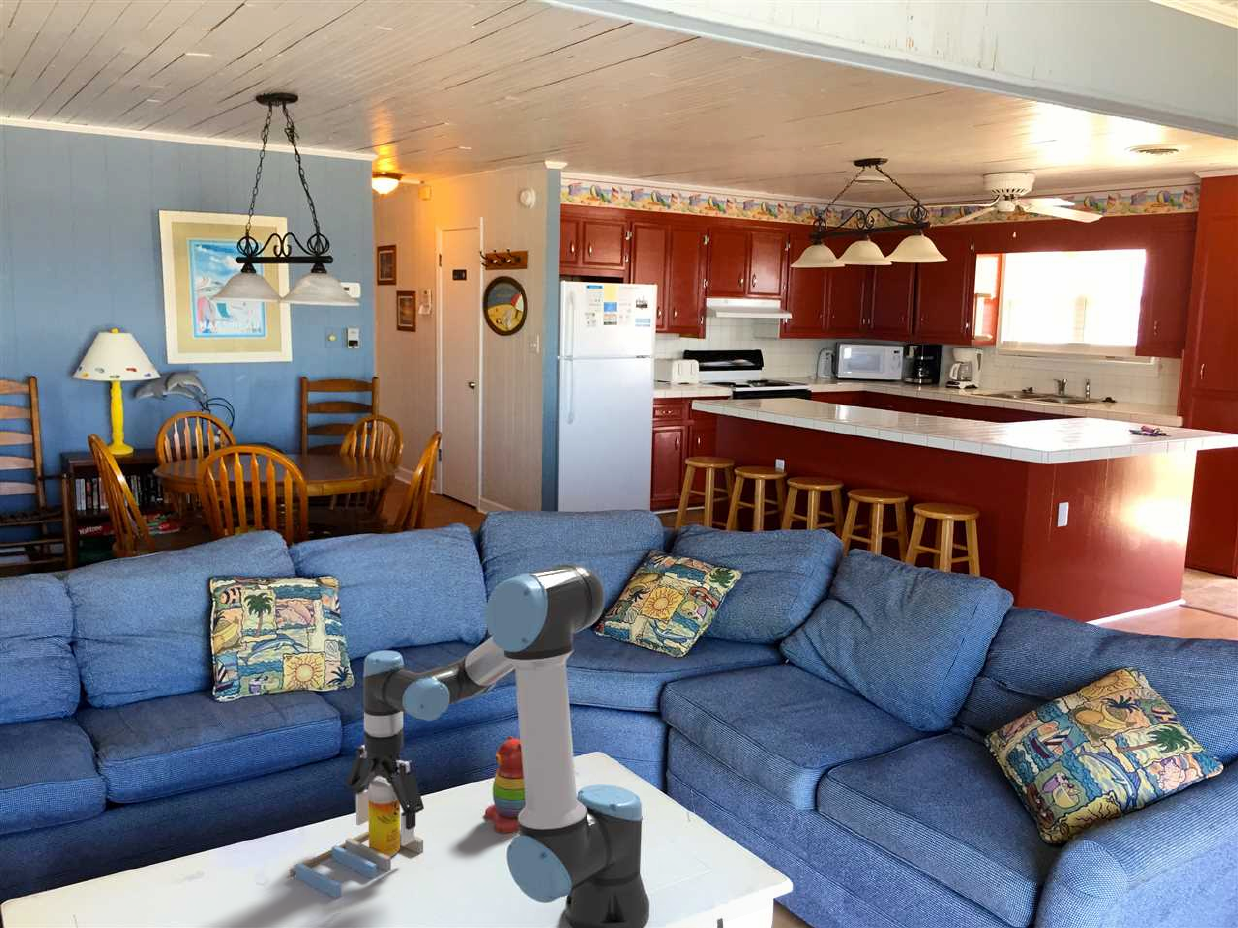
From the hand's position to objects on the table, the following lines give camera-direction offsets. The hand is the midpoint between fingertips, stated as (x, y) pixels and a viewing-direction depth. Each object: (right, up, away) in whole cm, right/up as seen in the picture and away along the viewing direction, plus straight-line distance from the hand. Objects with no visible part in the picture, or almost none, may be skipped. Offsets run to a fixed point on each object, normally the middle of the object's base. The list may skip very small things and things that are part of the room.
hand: (384, 832), depth 201 cm
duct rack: (-4, -5, -4) cm, 7 cm away
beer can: (0, -4, +1) cm, 4 cm away
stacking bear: (+24, -3, +15) cm, 29 cm away
